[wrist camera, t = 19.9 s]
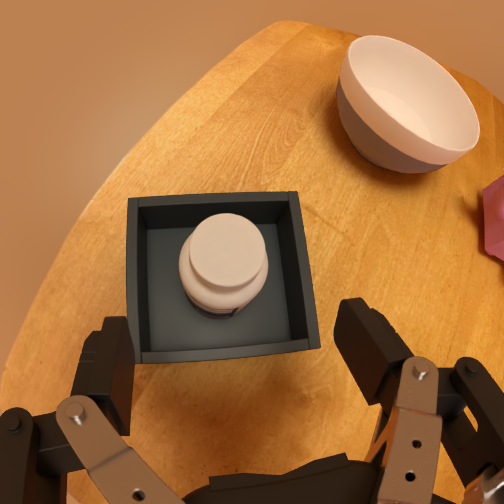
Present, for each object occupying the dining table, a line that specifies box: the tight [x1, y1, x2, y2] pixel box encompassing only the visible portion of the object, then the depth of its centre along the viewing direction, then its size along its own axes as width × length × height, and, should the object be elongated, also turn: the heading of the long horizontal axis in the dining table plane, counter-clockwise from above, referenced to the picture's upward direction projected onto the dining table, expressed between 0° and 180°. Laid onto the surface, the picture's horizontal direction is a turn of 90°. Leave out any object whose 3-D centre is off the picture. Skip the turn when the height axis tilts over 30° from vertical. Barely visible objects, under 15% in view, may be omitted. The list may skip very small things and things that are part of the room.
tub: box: [126, 191, 321, 364], centre depth 24 cm, size 13×12×5 cm
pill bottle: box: [179, 213, 268, 319], centre depth 21 cm, size 5×5×10 cm
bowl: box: [336, 35, 480, 173], centre depth 30 cm, size 16×16×10 cm
